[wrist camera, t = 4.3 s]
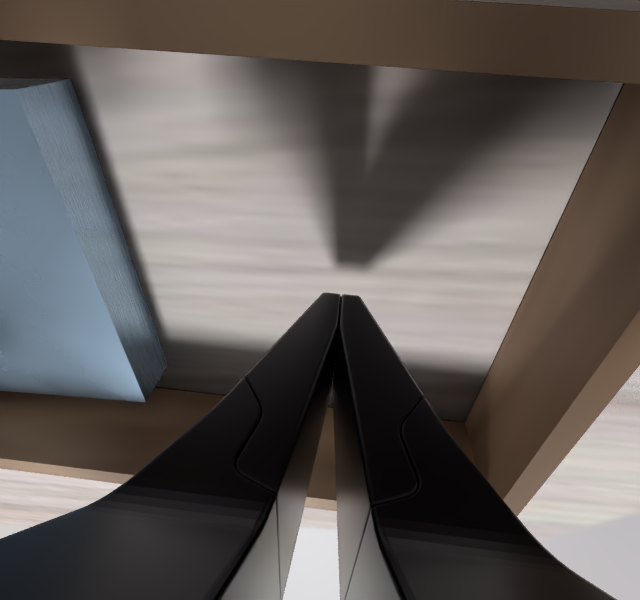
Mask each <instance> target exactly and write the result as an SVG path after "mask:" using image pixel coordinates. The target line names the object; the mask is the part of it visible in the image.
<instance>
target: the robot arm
mask: <svg viewBox="0 0 640 600" xmlns="http://www.w3.org/2000/svg"><path fill="white" fill-rule="evenodd" d="M340 302H341V303H340ZM334 363H335V364H334ZM333 372H334V374H333ZM332 381H333V420H334V446H335V473H336V499H337V526H338V553H339V579H340V600H617V599H615V598H613V597H612V596H610V595H609V594H607V593H606V592H604V591H603V590H601V589H599V588H598V587H596V586H595V585H593V584H592V583H590V582H589V581H587V580H585V579H584V578H582V577H581V576H579V575H578V574H576V573H575V572H573V571H572V570H570V569H569V568H568V567H566V566H565V565H564V564H563V563H561V562H560V561H559V560H557V558H555V557H554V556H553V555H552V554H551V553H550V552H549V551H548V550H547V549H545V548H544V547H543V546H542V545H541V544H540V542H538V540H537V539H536V538H535V537H534V536H533V535H532V534H531V533H530V532H529V531H528V529H527V528H526V527H525V526H524V525H523V524H522V522H521V521H520V520H519V519H518V518H517V516H516V515H515V514H514V513H513V511H512V510H511V509H510V508H509V507H508V505H507V504H506V503H505V502H504V500H503V499H502V498H501V497H500V496H499V494H498V493H497V492H496V491H495V489H494V488H493V487H492V486H491V485H490V483H489V482H488V481H487V480H486V478H485V477H484V476H483V475H482V474H481V472H480V471H479V470H478V469H477V467H476V466H475V465H474V464H473V463H472V461H471V460H470V459H469V458H468V456H467V455H466V454H465V452H464V451H463V450H462V449H461V447H460V446H459V445H458V443H457V442H456V441H455V440H454V438H453V437H452V436H451V434H450V433H449V432H448V430H447V429H446V427H445V426H444V424H443V423H442V421H441V420H440V419H439V417H438V416H437V414H436V413H435V411H434V410H433V408H432V407H431V405H430V404H429V402H428V400H427V399H426V398H424V395H423V393H422V391H421V390H420V388H419V387H418V385H417V384H416V382H415V381H414V379H413V378H412V376H411V375H410V373H409V371H408V370H407V368H406V367H405V365H404V364H403V362H402V361H401V359H400V358H399V356H398V355H397V353H396V352H395V350H394V348H393V347H392V345H391V344H390V342H389V341H388V339H387V338H386V336H385V335H384V333H383V332H382V330H381V328H380V327H379V325H378V324H377V322H376V321H375V319H374V318H373V316H372V315H371V313H370V312H369V310H368V308H367V307H366V305H365V304H364V302H363V301H362V299H361V298H360V297H359V296H356V295H345V294H344V295H342V296H340V294H335V293H322V294H321V295H320V297H319V298H318V299H317V300H316V301H315V302H314V303H313V304H312V305H311V306H310V307H309V308H308V309H307V310H306V311H305V312H304V314H303V315H302V316H301V317H300V318H299V319H298V320H297V321H296V322H295V323H294V324H293V325H292V326H291V327H290V328H289V329H288V330H287V332H286V333H285V334H284V335H283V336H282V337H281V338H280V339H279V340H278V341H277V342H276V343H275V344H274V345H273V346H272V347H271V349H270V350H269V351H268V352H267V353H266V354H265V355H264V356H263V357H262V358H261V359H260V360H259V361H258V362H257V363H256V364H255V365H254V367H253V368H252V369H251V370H250V371H249V372H248V373H247V374H246V375H245V377H244V378H242V379H241V380H240V381H239V382H238V383H237V384H236V385H235V387H234V388H233V389H232V390H231V391H230V392H229V393H228V394H227V395H226V396H225V397H224V398H223V399H222V400H221V401H220V402H219V403H218V404H217V405H216V406H215V407H214V408H213V409H211V410H210V411H209V412H208V413H207V414H206V415H205V416H203V417H202V418H201V419H200V420H199V421H198V422H197V423H196V424H194V425H193V426H192V427H191V428H190V429H189V430H187V431H186V432H185V433H184V434H183V435H181V436H180V437H179V438H178V439H177V440H176V441H174V442H173V443H172V444H171V445H170V446H168V447H167V448H166V449H165V450H164V451H162V452H161V453H160V454H159V455H158V456H157V457H155V458H154V459H153V460H152V461H151V462H149V463H148V464H147V465H146V466H145V467H143V468H142V469H141V470H140V471H139V472H137V473H136V474H135V475H134V476H133V477H131V478H130V479H129V480H128V481H126V482H125V483H124V484H123V485H121V486H120V487H118V488H117V489H115V490H114V491H112V492H111V493H109V494H108V495H106V496H104V497H103V498H101V499H99V500H98V501H96V502H94V503H92V504H90V505H88V506H85V507H83V508H81V509H78V510H75V511H73V512H70V513H68V514H65V515H62V516H60V517H57V518H54V519H52V520H49V521H46V522H44V523H41V524H38V525H36V526H33V527H30V528H28V529H25V530H23V531H20V532H17V533H15V534H12V535H9V536H7V537H4V538H1V539H0V600H282V599H283V595H284V591H285V586H286V582H287V578H288V573H289V569H290V565H291V560H292V556H293V552H294V547H295V543H296V539H297V535H298V531H299V526H300V522H301V518H302V514H303V509H304V505H305V501H306V496H307V492H308V488H309V484H310V479H311V475H312V471H313V466H314V462H315V458H316V454H317V449H318V445H319V441H320V436H321V432H322V428H323V424H324V419H325V415H326V411H327V406H328V402H329V398H330V393H331V388H332Z"/></svg>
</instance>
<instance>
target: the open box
mask: <svg viewBox="0 0 640 600" xmlns="http://www.w3.org/2000/svg"><path fill="white" fill-rule="evenodd" d="M0 40H11V41H25V42H40V43H54V44H69V45H83V46H98V47H112V48H127V49H141V50H156V51H170V52H184V53H199V54H213V55H228V56H242V57H257V58H271V59H286V60H300V61H315V62H329V63H344V64H358V65H372V66H387V67H401V68H416V69H430V70H445V71H459V72H474V73H488V74H503V75H517V76H532V77H546V78H560V79H575V80H589V81H604V82H618V83H625V84H624V86H623V88H622V90H621V92H620V94H619V96H618V98H617V101H616V103H615V105H614V107H613V109H612V111H611V113H610V115H609V118H608V120H607V122H606V124H605V126H604V128H603V130H602V132H601V135H600V137H599V139H598V141H597V143H596V145H595V147H594V149H593V152H592V154H591V156H590V158H589V160H588V162H587V164H586V167H585V169H584V171H583V173H582V175H581V177H580V179H579V181H578V184H577V186H576V188H575V190H574V192H573V194H572V196H571V198H570V201H569V203H568V205H567V207H566V209H565V211H564V213H563V215H562V218H561V220H560V222H559V224H558V226H557V228H556V230H555V232H554V235H553V237H552V239H551V241H550V243H549V245H548V247H547V249H546V252H545V254H544V256H543V258H542V260H541V262H540V264H539V267H538V269H537V271H536V273H535V275H534V277H533V279H532V281H531V284H530V286H529V288H528V290H527V292H526V294H525V296H524V298H523V301H522V303H521V305H520V307H519V309H518V311H517V313H516V315H515V318H514V320H513V322H512V324H511V326H510V328H509V330H508V332H507V335H506V337H505V339H504V341H503V343H502V345H501V347H500V349H499V352H498V354H497V356H496V358H495V360H494V362H493V364H492V367H491V369H490V371H489V373H488V375H487V377H486V379H485V381H484V384H483V386H482V388H481V390H480V392H479V394H478V396H477V398H476V401H475V403H474V405H473V407H472V409H471V411H470V413H469V415H468V418H467V420H466V422H465V423H461V422H452V421H443V420H441V421H442V423H443V424H444V426H445V427H446V429H447V430H448V432H449V433H450V434H451V436H452V437H453V438H454V440H455V441H456V442H457V443H458V445H459V446H460V447H461V449H462V450H463V451H464V452H465V454H466V455H467V456H468V458H469V459H470V460H471V461H472V463H473V464H474V465H475V466H476V467H477V469H478V470H479V471H480V472H481V474H482V475H483V476H484V477H485V478H486V480H487V481H488V482H489V483H490V485H491V486H492V487H493V488H494V489H495V491H496V492H497V493H498V494H499V496H500V497H501V498H502V499H503V500H504V502H505V503H506V504H507V505H508V507H509V508H510V509H511V510H512V511H513V513H514V514H515V515H516V516H518V515H519V513H520V512H521V511H522V510H523V508H524V507H525V506H526V505H527V503H528V502H529V501H530V500H531V498H532V497H533V496H534V495H535V494H536V492H537V491H538V490H539V489H540V487H541V486H542V485H543V484H544V482H545V481H546V480H547V479H548V477H549V476H550V475H551V474H552V473H553V471H554V470H555V469H556V468H557V466H558V465H559V464H560V463H561V461H562V460H563V459H564V458H565V456H566V455H567V454H568V453H569V452H570V450H571V449H572V448H573V447H574V445H575V444H576V443H577V442H578V440H579V439H580V438H581V437H582V435H583V434H584V433H585V432H586V431H587V429H588V428H589V427H590V426H591V424H592V423H593V422H594V421H595V419H596V418H597V417H598V416H599V414H600V413H601V412H602V411H603V410H604V408H605V407H606V406H607V405H608V403H609V402H610V401H611V400H612V398H613V397H614V396H615V395H616V393H617V392H618V391H619V390H620V389H621V387H622V386H623V385H624V384H625V382H626V381H627V380H628V379H629V377H630V376H631V375H632V374H633V372H634V371H635V370H636V369H637V368H638V366H639V365H640V11H624V10H608V9H591V8H574V7H558V6H541V5H525V4H508V3H491V2H475V1H458V0H0ZM224 397H225V396H224V395H215V394H206V393H197V392H189V391H180V390H171V389H162V388H154V389H153V391H152V393H151V395H150V396H149V398H148V400H147V402H135V401H122V400H110V399H97V398H85V397H73V396H60V395H48V394H35V393H23V392H10V391H0V468H1V469H9V470H17V471H25V472H33V473H41V474H49V475H56V476H64V477H72V478H80V479H88V480H96V481H104V482H111V483H119V484H124V483H125V482H126V481H128V480H129V479H130V478H131V477H133V476H134V475H135V474H136V473H137V472H139V471H140V470H141V469H142V468H143V467H145V466H146V465H147V464H148V463H149V462H151V461H152V460H153V459H154V458H155V457H157V456H158V455H159V454H160V453H161V452H162V451H164V450H165V449H166V448H167V447H168V446H170V445H171V444H172V443H173V442H174V441H176V440H177V439H178V438H179V437H180V436H181V435H183V434H184V433H185V432H186V431H187V430H189V429H190V428H191V427H192V426H193V425H194V424H196V423H197V422H198V421H199V420H200V419H201V418H202V417H203V416H205V415H206V414H207V413H208V412H209V411H210V410H211V409H213V408H214V407H215V406H216V405H217V404H218V403H219V402H220V401H221V400H222V399H223V398H224ZM304 507H308V508H316V509H324V510H331V511H337V499H336V473H335V446H334V420H333V408H329V407H327V411H326V415H325V419H324V424H323V428H322V432H321V436H320V441H319V445H318V449H317V454H316V458H315V462H314V466H313V471H312V475H311V479H310V484H309V488H308V492H307V496H306V501H305V505H304Z"/></svg>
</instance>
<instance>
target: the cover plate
mask: <svg viewBox="0 0 640 600" xmlns="http://www.w3.org/2000/svg"><path fill="white" fill-rule="evenodd" d="M167 365H168V364H167V361H166V358H165V355H164V352H163V349H162V346H161V343H160V340H159V337H158V334H157V331H156V328H155V325H154V322H153V320H152V317H151V314H150V311H149V308H148V305H147V302H146V299H145V296H144V293H143V290H142V287H141V284H140V281H139V278H138V275H137V273H136V270H135V267H134V264H133V261H132V258H131V255H130V252H129V249H128V246H127V243H126V240H125V237H124V234H123V231H122V228H121V225H120V223H119V220H118V217H117V214H116V211H115V208H114V205H113V202H112V199H111V196H110V193H109V190H108V187H107V184H106V181H105V178H104V175H103V173H102V170H101V167H100V164H99V161H98V158H97V155H96V152H95V149H94V146H93V143H92V140H91V137H90V134H89V131H88V128H87V125H86V123H85V120H84V117H83V114H82V111H81V108H80V105H79V102H78V99H77V96H76V93H75V90H74V87H73V84H72V81H71V79H32V78H0V391H10V392H23V393H35V394H48V395H60V396H73V397H85V398H97V399H110V400H122V401H135V402H147V400H148V398H149V396H150V395H151V393H152V391H153V389H154V388H155V386H156V384H157V382H158V381H159V379H160V377H161V375H162V374H163V372H164V370H165V368H166V367H167Z"/></svg>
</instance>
